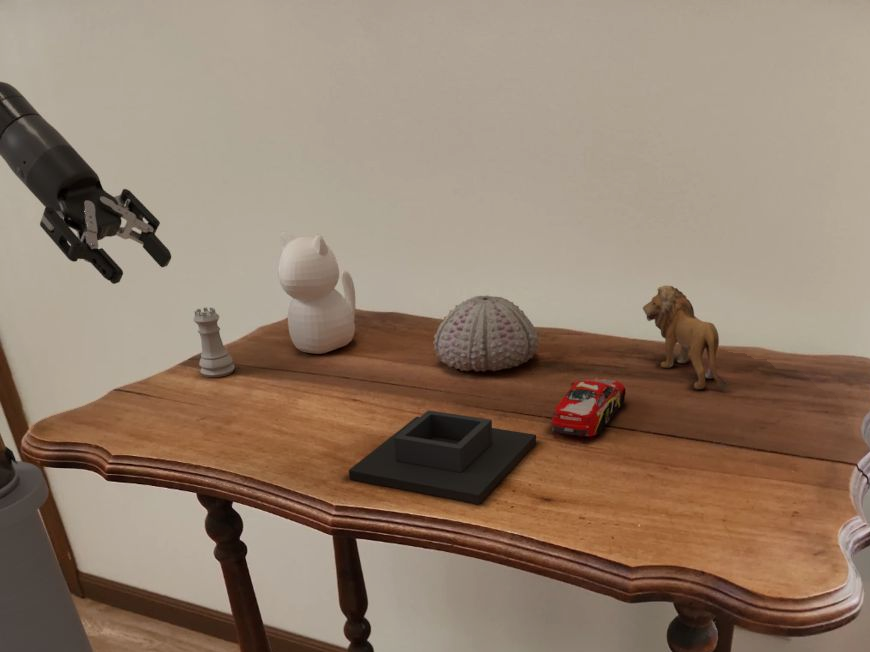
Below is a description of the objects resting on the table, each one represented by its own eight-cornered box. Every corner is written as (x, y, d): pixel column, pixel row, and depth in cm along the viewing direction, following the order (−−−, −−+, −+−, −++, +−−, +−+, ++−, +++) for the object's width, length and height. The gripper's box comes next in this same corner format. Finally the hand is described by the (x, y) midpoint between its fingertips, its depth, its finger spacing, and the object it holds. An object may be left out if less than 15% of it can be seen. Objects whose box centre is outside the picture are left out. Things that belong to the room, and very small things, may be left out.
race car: (585, 393, 94) (586, 359, 92) (630, 400, 92) (633, 365, 89) (542, 437, 84) (543, 400, 82) (592, 445, 82) (594, 408, 80)
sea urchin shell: (414, 363, 105) (410, 299, 101) (491, 338, 112) (490, 277, 107) (483, 388, 97) (481, 320, 92) (561, 359, 103) (563, 295, 99)
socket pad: (479, 504, 73) (478, 469, 71) (349, 479, 79) (344, 446, 77) (536, 443, 83) (536, 411, 81) (417, 424, 89) (414, 394, 87)
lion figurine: (633, 359, 102) (639, 285, 97) (668, 351, 104) (676, 278, 99) (707, 397, 91) (719, 316, 86) (745, 387, 93) (759, 307, 88)
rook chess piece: (231, 377, 104) (218, 314, 100) (197, 379, 104) (182, 316, 100) (238, 365, 108) (226, 304, 103) (205, 367, 108) (191, 306, 103)
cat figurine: (274, 354, 111) (253, 237, 102) (331, 328, 119) (316, 218, 111) (325, 364, 107) (307, 242, 98) (380, 336, 115) (368, 222, 106)
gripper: (8, 151, 92) (111, 263, 95) (102, 135, 103) (193, 236, 105) (-5, 201, 98) (92, 305, 100) (85, 181, 108) (172, 276, 110)
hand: (144, 270), depth 102 cm, fingers open, 8 cm apart
